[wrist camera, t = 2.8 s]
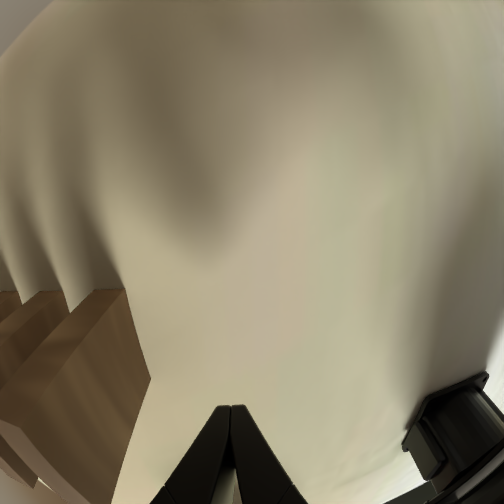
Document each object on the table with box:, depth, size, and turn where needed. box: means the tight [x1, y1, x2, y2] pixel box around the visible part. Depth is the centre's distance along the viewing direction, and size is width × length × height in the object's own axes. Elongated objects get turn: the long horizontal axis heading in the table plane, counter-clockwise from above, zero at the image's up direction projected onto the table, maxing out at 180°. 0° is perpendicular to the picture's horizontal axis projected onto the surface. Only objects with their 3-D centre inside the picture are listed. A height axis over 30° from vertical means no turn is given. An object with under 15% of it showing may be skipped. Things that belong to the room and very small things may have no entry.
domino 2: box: [0, 289, 151, 504], centre depth 8 cm, size 2×5×8 cm, turn 4°
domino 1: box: [0, 291, 70, 489], centre depth 8 cm, size 2×5×8 cm, turn 3°
